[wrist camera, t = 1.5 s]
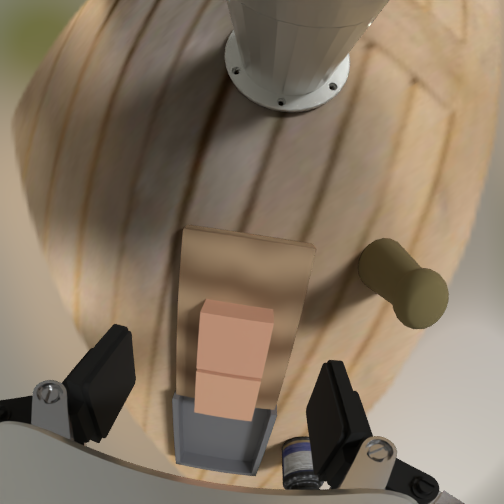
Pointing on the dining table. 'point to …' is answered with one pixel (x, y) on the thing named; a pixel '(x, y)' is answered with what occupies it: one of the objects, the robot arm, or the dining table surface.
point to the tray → (220, 438)
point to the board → (241, 295)
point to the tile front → (234, 338)
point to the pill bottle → (298, 465)
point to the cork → (403, 283)
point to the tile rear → (226, 395)
